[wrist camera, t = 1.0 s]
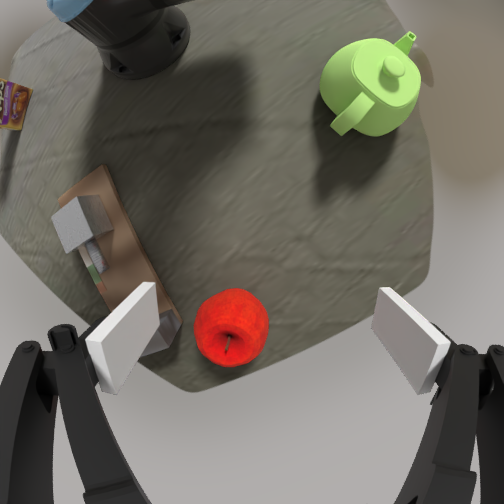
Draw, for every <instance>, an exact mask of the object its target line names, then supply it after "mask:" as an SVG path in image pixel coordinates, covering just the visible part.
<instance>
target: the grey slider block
mask: <svg viewBox="0 0 504 504" xmlns="http://www.w3.org/2000/svg"><path fill="white" fill-rule="evenodd" d="M51 218H52V221H53V223H54V226H55V228H56V231H57V233H58V236H59V238H60V241H61V243H62V245H63V248H64V250H65V252H66V254H68V253H70V252H73V251H75V250H78V249H80V248H83V247H85V246H86V249H87V251H88V253H89V255H90V257H91V259H92V261H93V263H94V265H95V267H96V269H97V271H98V273H99V274H101V273H103V272H105V271H106V270H108V269H110V267H109V265H108V263H107V261H106V259H105V257H104V255H103V253H102V250H101V248H100V246H99V244H98V242H97V239H98V238H100V237H102V236H103V235H105V234H106V233H108V232H109V231H111V230H113V227H112V225H111V222H110V220H109V218H108V216H107V213H106V211H105V209H104V206H103V204H102V202H101V199H100V197H99V194H98V195H86V196H76V197H75V198H74V199H73V200H71V201H70V202H69V203H68V204H66V205H65V206H64V207H63V208H61V209H60V210H59V211H58V212H57V213H55V214H54V215H53V216H52V217H51Z"/></svg>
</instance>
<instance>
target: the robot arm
mask: <svg viewBox="0 0 504 504" xmlns="http://www.w3.org/2000/svg"><path fill="white" fill-rule="evenodd" d="M189 1H194V0H47V6H48V8H49V9H50V10H51V11H52V12H53V13H54V14H55V15H56V16H57V17H58V18H59V20H60V21H61V22H65V23H66V24H68V25H69V26H70V27H72V28H73V29H75V30H76V31H77V32H79V33H80V34H81V35H83V36H84V37H85V38H87V39H88V40H89V41H91V42H92V43H93V44H95V45H96V46H97V48H98V50H99V53H100V56H101V58H102V61H103V63H104V65H105V66H106V68H107V69H108V70H109V71H111V72H112V73H114V74H115V75H116V76H118V77H120V78H124V79H141V78H145V77H148V76H151V75H154V74H156V73H158V72H160V71H161V70H163V69H165V68H166V67H168V66H169V65H170V64H172V63H173V62H174V61H175V60H176V59H177V58H178V57H179V56H180V55H181V53H182V52H183V51H184V49H185V47H186V45H187V43H188V41H189V37H190V26H189V23H188V21H187V18H186V16H185V15H184V13H183V12H182V11H181V10H180V9H178V8H177V7H175V6H174V5H177V4H181V3H185V2H189ZM159 325H160V321H159V313H158V305H157V295H156V285H155V283H154V282H143V283H142V284H141V285H139V286H138V287H137V288H136V289H135V290H134V291H133V292H132V293H131V294H130V295H129V296H128V297H127V298H126V299H125V300H124V301H123V302H122V303H121V304H120V305H119V306H118V307H117V308H116V309H115V310H114V311H113V312H112V313H111V314H110V315H109V316H108V317H102V318H100V319H98V320H96V321H95V322H94V323H93V324H92V325H91V327H89V328H88V329H87V331H85V332H84V333H83V334H82V335H81V336H80V337H79V338H78V335H77V332H76V328H75V327H74V326H73V325H70V324H61V325H58V326H55V327H53V328H51V329H50V330H49V331H48V338H49V341H50V344H51V347H52V350H53V351H42V349H41V347H40V344H39V343H38V342H36V341H25V342H23V343H21V344H20V345H19V346H18V347H17V348H16V350H15V352H14V354H13V357H12V359H11V361H10V363H9V366H8V368H7V370H6V373H5V375H4V377H3V380H2V383H1V385H0V504H54V500H53V471H52V470H53V469H52V468H53V442H54V428H55V418H56V409H57V402H58V396H59V399H60V404H61V409H62V414H63V419H64V423H65V427H66V431H67V435H68V439H69V442H70V446H71V449H72V453H73V456H74V459H75V462H76V465H77V468H78V471H79V474H80V477H81V480H82V482H83V485H84V488H85V493H83V498H84V501H85V504H152V503H151V502H150V500H149V499H148V498H147V496H146V494H145V493H144V491H143V489H142V488H141V486H140V484H139V483H138V481H137V479H136V477H135V476H134V474H133V472H132V470H131V469H130V467H129V465H128V463H127V461H126V459H125V457H124V455H123V453H122V451H121V449H120V447H119V445H118V443H117V441H116V439H115V437H114V435H113V432H112V430H111V428H110V426H109V423H108V421H107V418H106V416H105V413H104V411H103V408H102V406H101V403H100V400H99V398H98V395H97V392H96V390H95V386H96V384H97V383H98V382H99V384H100V387H101V390H102V392H107V393H110V394H114V395H117V394H118V392H119V390H120V389H121V387H122V385H123V384H124V382H125V380H126V379H127V377H128V375H129V374H130V372H131V370H132V369H133V367H134V365H135V364H136V362H137V361H138V359H139V357H140V356H141V354H142V352H143V351H144V349H145V348H146V346H147V344H148V343H149V341H150V339H151V338H152V336H153V335H154V333H155V331H156V330H157V328H158V327H159ZM371 329H372V330H373V332H374V333H375V334H376V335H377V337H378V338H379V340H380V341H381V343H382V344H383V345H384V347H385V348H386V350H387V351H388V352H389V354H390V355H391V357H392V358H393V359H394V361H395V362H396V364H397V365H398V367H399V368H400V370H401V371H402V372H403V374H404V375H405V377H406V378H407V380H408V381H409V383H410V384H411V386H412V387H413V389H414V390H415V392H416V393H417V395H420V394H424V393H428V392H430V391H431V389H432V387H433V385H434V383H435V382H436V383H437V385H438V386H439V387H438V389H437V391H436V393H435V395H434V397H433V399H432V401H431V403H430V405H432V404H433V405H432V409H431V412H430V416H429V419H428V423H427V426H426V429H425V432H424V435H423V438H422V441H421V444H420V446H419V449H418V452H417V454H416V457H415V459H414V462H413V464H412V467H411V469H410V472H409V474H408V476H407V478H406V481H405V483H404V485H403V487H402V489H401V492H400V493H399V495H398V497H397V499H396V501H395V503H394V504H471V500H472V496H473V492H474V488H475V484H476V477H477V474H476V472H473V471H470V466H471V461H472V456H473V450H474V443H475V436H476V437H477V445H478V453H479V465H480V487H481V503H480V504H504V347H503V346H501V345H491V346H490V347H489V349H488V351H487V353H486V354H478V352H477V350H476V349H475V348H473V347H472V346H469V345H465V344H460V345H457V344H456V343H455V342H454V341H452V339H450V338H449V337H448V336H447V335H445V333H444V332H443V331H441V329H440V328H438V327H437V326H436V325H435V324H433V323H431V322H429V321H427V320H426V319H425V318H424V317H423V316H422V315H421V314H420V313H419V312H417V311H416V310H415V309H414V308H413V307H412V306H411V305H410V304H408V303H407V302H406V301H405V300H404V299H403V298H402V297H400V296H399V295H398V294H397V293H396V292H395V291H393V290H392V289H391V288H390V287H382V288H379V291H378V296H377V302H376V307H375V312H374V317H373V321H372V325H371ZM492 389H493V390H492Z"/></svg>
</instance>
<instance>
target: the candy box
mask: <svg viewBox="0 0 504 504" xmlns="http://www.w3.org/2000/svg"><path fill="white" fill-rule="evenodd" d="M32 91H33V89H30V88H27V87H24V86H21V85H19V84H16V83H13V82H9V81H7V80H4V79H0V129H7V130H21V129H22V124H23V120H24V117H25V113H26V109H27V106H28V103H29V99H30V96H31V94H32Z"/></svg>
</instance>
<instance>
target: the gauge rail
mask: <svg viewBox="0 0 504 504" xmlns="http://www.w3.org/2000/svg"><path fill="white" fill-rule="evenodd" d="M98 194H99V197H100V199H101V202H102V204H103V206H104V209H105V211H106V213H107V216H108V218H109V220H110V222H111V225H112V227H113V230H111V231H109V232H108V233H106V234H105V235H103V236H102V237H100V238H98V239H97V242H98V244H99V246H100V248H101V250H102V253H103V255H104V257H105V259H106V261H107V263H108V265H109V267H110V269H108V270H106V271H105V272H103V273H101V274H99V273H98V271H97V269H96V267H95V265H94V263H93V261H92V259H91V257H90V255H89V253H88V251H87V249H86V246H85V247H83V248H80V249H78V250H79V252H80V254H81V257H82V259H83V261H84V263H85V265H86V267H87V269H88V271H89V273H90V275H91V277H92V279H93V281H94V283H95V285H96V286H97V288H98V290H99V292H100V294H101V296H102V297H103V299H104V301H105V303H106V305H107V306H108V308H109V310H110V312H111V313H112V312H113V311H114V310H115V309H116V308H117V307H118V306H119V305H120V304H121V303H122V302H123V301H124V300H125V299H126V298H127V297H128V296H129V295H130V294H131V293H132V292H133V291H134V290H135V289H136V288H137V287H138V286H139V285H141V284H142V283H143V282H154V283H155V285H156V295H157V305H158V313H159V321H160V325H159V327H158V328H157V330H156V331H155V333H154V335H153V336H152V338H151V339H150V341H149V343H148V344H147V346H146V348H145V349H144V351H143V352H142V354H141V356H140V357H143V356H146V355H149V354H152V353H155V352H158V351H161V350H164V349H167V348H169V347H170V345H171V343H172V341H173V339H174V337H175V335H176V334H177V332H178V330H179V328H180V326H181V324H182V322H183V320H182V319H181V317H180V315H179V313H178V312H177V310H176V308H175V307H174V305H173V303H172V301H171V300H170V298H169V296H168V294H167V292H166V291H165V289H164V287H163V285H162V283H161V281H160V280H159V278H158V276H157V274H156V272H155V270H154V268H153V266H152V264H151V263H150V261H149V259H148V257H147V255H146V253H145V251H144V249H143V247H142V245H141V243H140V241H139V239H138V237H137V234H136V232H135V230H134V228H133V226H132V224H131V222H130V220H129V217H128V215H127V213H126V211H125V209H124V206H123V204H122V202H121V200H120V197H119V195H118V193H117V190H116V188H115V185H114V183H113V181H112V178H111V176H110V173H109V171H108V168H107V166H106V165H105V164H102V165H100V166H99V167H98V168H96V169H95V170H94V171H92V172H91V173H89V174H88V175H87V176H86V177H84V178H83V179H82V180H80V181H79V182H78V183H76V184H75V185H74V186H73V187H71V188H70V189H69V190H68V191H67V192H65V193H64V194H63V195H62V196H61V197H59V198H58V202H59V204H60V207H61V208H63V207H64V206H65V205H66V204H68V203H69V202H70V201H71V200H73V199H74V198H75V197H76V196H86V195H98Z"/></svg>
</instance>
